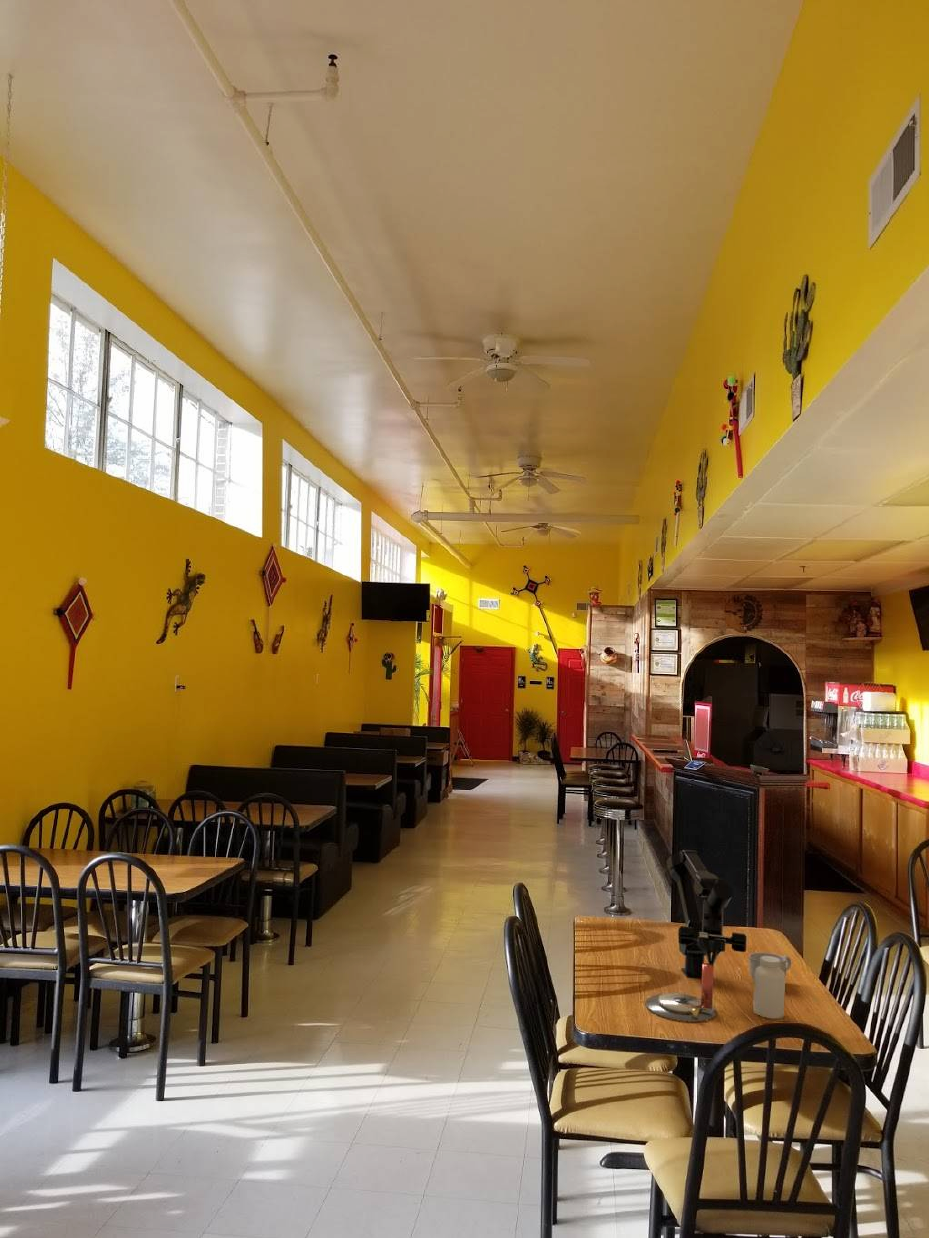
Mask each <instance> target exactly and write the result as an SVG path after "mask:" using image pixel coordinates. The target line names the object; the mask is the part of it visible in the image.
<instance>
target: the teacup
mask: <svg viewBox="0 0 929 1238" xmlns="http://www.w3.org/2000/svg"><path fill="white" fill-rule="evenodd" d="M762 956H772V957H776V958H778V959H780V961H781V963H780V969H781V970H782V971H783V972H784V974H785V979H786V976H787V972H788V971H789V969H790V968H791V966H792V959H791V958H790V956H788V955H779V954H776V953H770V952H753V953H750V954H748V959H749V974H750V976H751V978H752V979H753V981H755V970H756V968H757V967H758V966H761V965H760V958H761V957H762Z"/></svg>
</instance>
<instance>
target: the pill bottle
mask: <svg viewBox="0 0 929 1238" xmlns="http://www.w3.org/2000/svg"><path fill="white" fill-rule="evenodd" d="M780 963H781V961H780V959H778V958H776V957H772V956H762V957H761V958H760V965H761V966H758V967H757V968H756V970H755V980H753V981H754V983H753V985H754V986H753V988H754V989H753V1007H752V1008H753V1012H754V1013H755V1014H756V1015H757V1016H759V1015H760V1017H762V1018H765V1017H766V1019H773V1020H774V1019H775V1020H776V1019H778V1020H779V1019H782V1018H783V1017H784V1014H785V993H786V991H785V989H786V978H785V974H784V972H783V971H782V970H781V969H780Z"/></svg>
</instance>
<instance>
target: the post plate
mask: <svg viewBox="0 0 929 1238" xmlns="http://www.w3.org/2000/svg"><path fill="white" fill-rule="evenodd" d="M660 995H662V994H660V993H659V994H655V995H651V996H650V997H648V998H646V1000H645V1008H646V1009H647V1010H648V1011H649V1012H650V1013H652V1014H653V1015H655V1014H656V1015H655V1016H658V1017H660V1016H661V1018H663V1019H666V1018H667V1019H666V1020H670V1019H672V1020H671V1021H674V1020H679V1021H678V1022H680V1021H686V1022H685V1023H701V1022H700V1021H705V1022H707V1021H706V1020H709V1021H711V1020H714V1017H715V1018H716V1016H717V1009H716V1008H715V1011H714V1013H713V1014H709V1013H704V1012H702V1011H701V1012H699V1009H697V1008H693V1009H692V1014H682V1013H676V1012H672V1011H669V1010H666V1009H664V1008H662V1007H661V1006H660V1005H659V1003H658V1001H659V996H660ZM699 999H700V1000H701V998H699ZM698 1012H699V1013H698ZM710 1019H711V1020H710ZM689 1021H690V1022H689Z"/></svg>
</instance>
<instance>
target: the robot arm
mask: <svg viewBox="0 0 929 1238" xmlns="http://www.w3.org/2000/svg"><path fill="white" fill-rule="evenodd" d="M666 868H667V869H668V870H669V875H670V877H671V878H672V879H673V881H675V883H676V884H677V889H678V892H679V897H680V903H681V907H682V912H683V916H684V921H685V926H684V925H680V926H679V927H678V932H677V933H678V934H677V935H678V936H677V937H678V947H679V948H678V950H679V952H680V953H681V954H682V955H683V956H684V968H683V967H681V968H680V971H681V972H682V973H683V974H684V975H685V976H686V977H688V978H702V964H703V963H705V957H706V960H707V963H709V964H712V965H715V963H716V960H717V958H718V956H719V954H720V953H721V952H725V951H726V945H731V949H732V950H733V951H734V952H739V953H745V952H747V935H746V933H742V932H741V933H740V932H733V931H732V933H731V936H728V935H727V936H725V935H723V932H724V909H725V908H727V906H728V904H729V902H730V900H731V899H732V898H733V895H734V890H733V888H732V887H731V885H729V884H728V883H727V882H726V881H724V879H723V878H719V877H718V876H717V875H716V874H714V873H711V872H709V870H707V868H706V866H705V865H704V864H703V861H702V860H701V859H700V857H699V853H698V851H696V850H695V849H694V850H693V849H692V850H689V849H683V850H680V851H679V852H677V853H674V854H671V855H670V856H669V857H667V860H666ZM693 880H694V882H693ZM696 895H697V896H698V897H700V898H704V900H703V902H702V903H703V905H702V906H703V907H702V919H701V915H700V910H699V905H698V900H697V897H696Z"/></svg>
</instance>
